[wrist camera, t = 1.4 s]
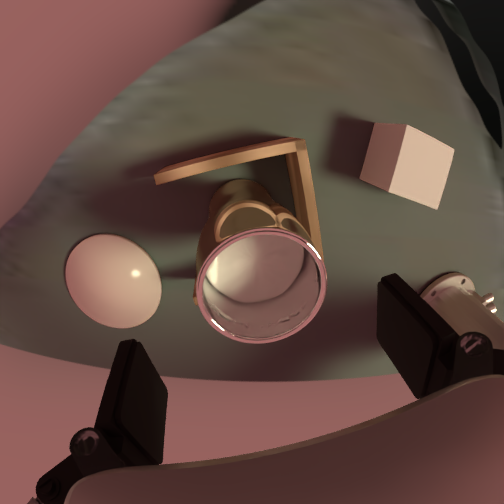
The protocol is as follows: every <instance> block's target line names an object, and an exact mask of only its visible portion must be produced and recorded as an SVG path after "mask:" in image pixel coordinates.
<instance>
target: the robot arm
mask: <svg viewBox="0 0 504 504" xmlns="http://www.w3.org/2000/svg"><path fill="white" fill-rule="evenodd" d="M492 301H493V295H492V293H488V294H486V295H484V296H483V297H481V296H479V295H478V294H477V293H476V292H475V287H474V284H473V282H472V281H471V279H469V278H468V277H467V276H466V275H464V274H462V273H456V272H455V273H449V274H447V275H444V276H442V277H440V278H438V279H437V280H435V281H434V282H433V283H432V284H430V285H429V286H428V287H427V288H426V289H425V290H424V291H423V292H422V294H421V295H420V296H419V295H418V294H417V293H416V292H415V291H414V290H413V289H412V288H411V287H410V286H409V285H408V284H407V283H406V282H405V281H404V280H403V279H402V278H401V277H399V276H398V275H397V274H396V273H394V274H390V275H387V276H384V277H382V278H381V282H378V299H377V339H378V342H379V343H380V345H381V346H382V348H383V349H384V351H385V352H386V354H387V355H388V357H389V358H390V359H391V361H392V362H393V364H394V365H395V367H396V368H397V370H398V372H399V373H400V374H401V376H402V378H403V379H404V381H405V382H406V384H407V385H408V387H409V388H410V390H411V391H412V393H413V395H414V396H415V397H416V398H417V399H419V400H417V401H415V402H413V403H410V404H408V405H405V406H403V407H401V408H398V409H396V410H394V411H391V412H389V413H386V414H384V415H381V416H379V417H376V418H373V419H371V420H368V421H365V422H363V423H360V424H357V425H354V426H351V427H348V428H345V429H342V430H339V431H336V432H333V433H330V434H327V435H323V436H320V437H316V438H313V439H309V440H306V441H302V442H298V443H294V444H290V445H286V446H282V447H278V448H273V449H269V450H264V451H259V452H254V453H249V454H243V455H238V456H232V457H225V458H219V459H212V460H204V461H195V462H185V463H175V464H163V465H159V464H161V463H162V462H163V448H164V434H165V421H166V408H167V398H168V392H167V388H166V386H165V384H164V383H163V381H162V379H161V378H160V376H159V374H158V372H157V371H156V369H155V367H154V365H153V364H152V362H151V360H150V358H149V356H148V355H147V353H146V351H145V349H144V347H143V345H142V344H141V343H140V342H137V341H136V340H135V339H131V340H125V341H121V342H120V343H119V346H118V349H117V352H116V355H115V358H114V362H113V365H112V368H111V371H110V375H109V378H108V380H107V383H106V386H105V390H104V393H103V397H102V400H101V404H100V407H99V411H98V415H97V418H96V422H95V426H94V428H91V427H88V428H83V429H81V430H79V431H78V432H77V433H76V434H74V436H73V437H72V439H71V441H70V447H69V449H70V452H71V455H70V456H68V457H67V458H66V459H64V460H63V461H62V462H60V463H59V464H58V465H56V466H55V467H54V468H52V469H51V470H50V471H48V472H47V473H46V474H44V475H43V476H42V477H41V478H40V479H39V481H38V482H37V485H36V494H37V498H36V499H35V498H34V497H32V498H31V499H30V501H29V502H28V503H27V504H504V322H503V321H501V320H500V319H499V318H498V317H497V316H496V315H495V313H496V306H495V305H494V303H490V302H492ZM488 303H489V304H488ZM486 304H487V305H486Z"/></svg>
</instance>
